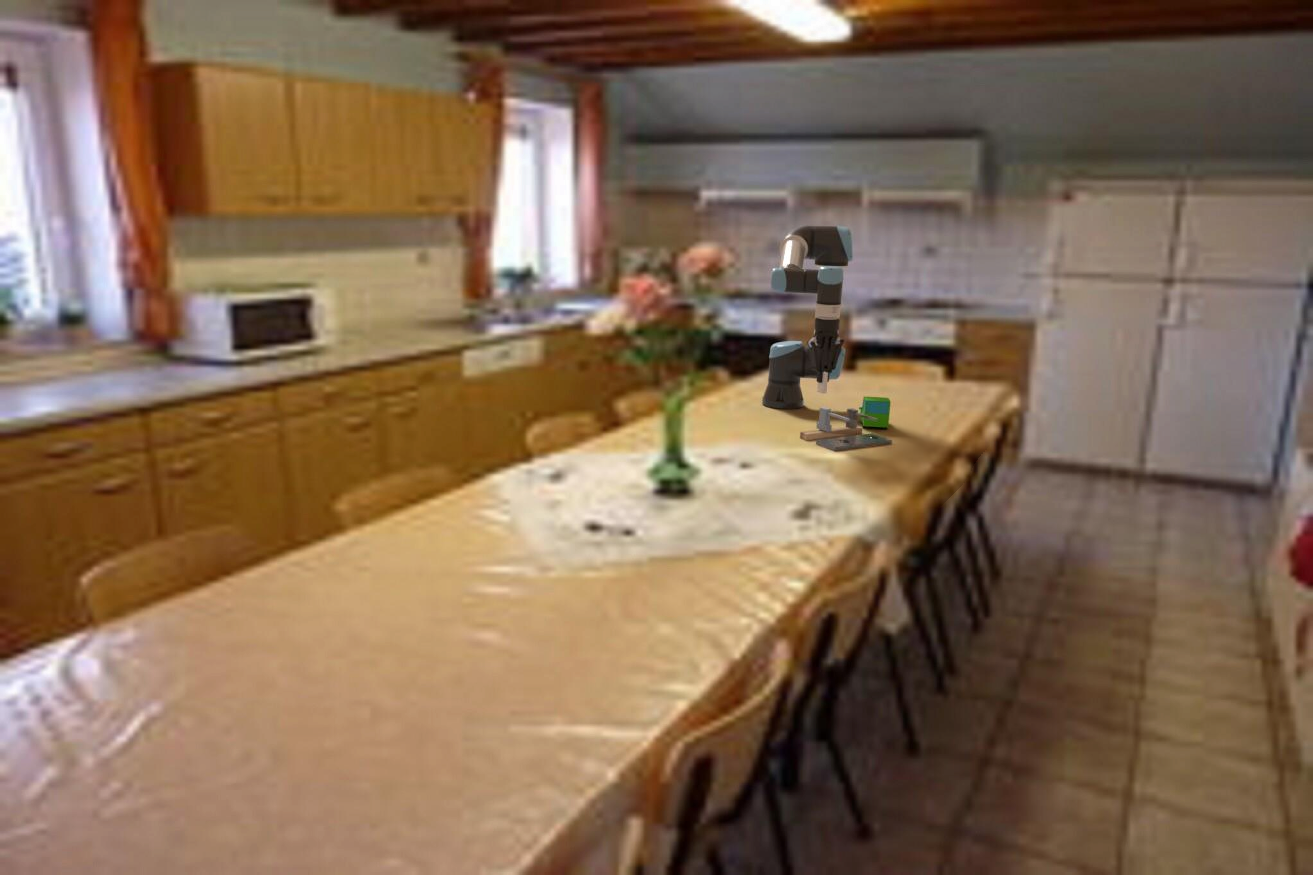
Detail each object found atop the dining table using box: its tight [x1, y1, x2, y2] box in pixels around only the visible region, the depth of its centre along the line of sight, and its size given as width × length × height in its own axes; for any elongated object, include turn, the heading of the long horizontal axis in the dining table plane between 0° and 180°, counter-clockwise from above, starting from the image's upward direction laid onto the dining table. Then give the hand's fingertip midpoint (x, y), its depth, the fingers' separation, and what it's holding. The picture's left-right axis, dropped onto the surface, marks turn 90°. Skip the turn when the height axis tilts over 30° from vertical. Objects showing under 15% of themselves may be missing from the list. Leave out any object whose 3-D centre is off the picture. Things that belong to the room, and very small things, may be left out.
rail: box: [799, 407, 878, 441], centre depth 299 cm, size 13×23×8 cm, turn 119°
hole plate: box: [815, 432, 893, 452], centre depth 295 cm, size 9×23×1 cm, turn 119°
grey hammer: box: [816, 406, 850, 432], centre depth 297 cm, size 14×2×7 cm, turn 29°
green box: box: [858, 396, 891, 430], centre depth 319 cm, size 10×13×10 cm
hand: (821, 392), depth 296 cm, fingers closed
